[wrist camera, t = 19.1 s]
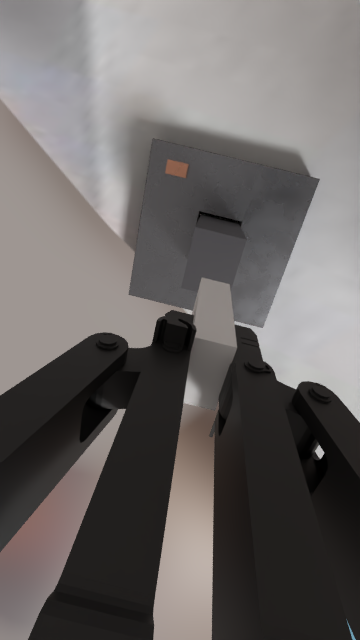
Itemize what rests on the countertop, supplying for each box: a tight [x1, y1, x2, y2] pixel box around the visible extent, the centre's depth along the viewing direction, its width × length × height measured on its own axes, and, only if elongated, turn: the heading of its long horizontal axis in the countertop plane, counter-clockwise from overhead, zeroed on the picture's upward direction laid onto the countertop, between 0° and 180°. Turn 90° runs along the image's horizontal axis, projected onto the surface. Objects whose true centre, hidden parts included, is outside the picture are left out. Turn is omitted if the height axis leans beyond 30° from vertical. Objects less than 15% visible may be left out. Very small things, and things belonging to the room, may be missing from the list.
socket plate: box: [129, 139, 320, 328], centre depth 33 cm, size 16×16×3 cm
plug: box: [181, 215, 247, 292], centre depth 29 cm, size 4×5×11 cm
